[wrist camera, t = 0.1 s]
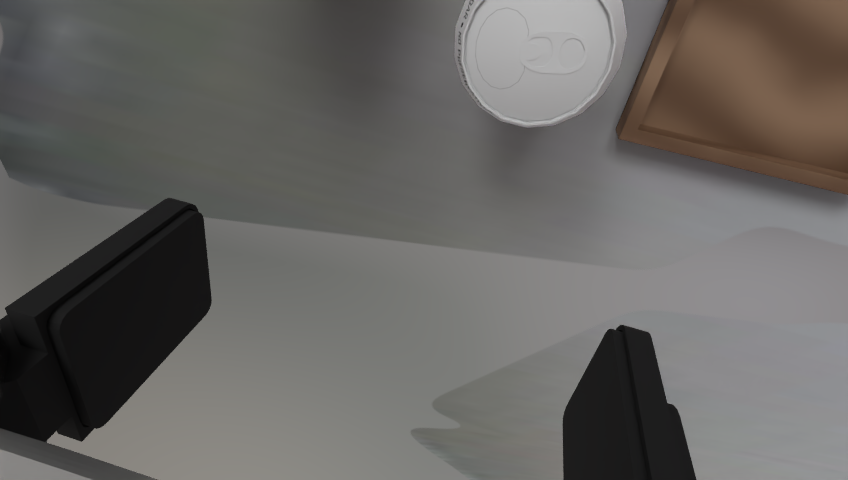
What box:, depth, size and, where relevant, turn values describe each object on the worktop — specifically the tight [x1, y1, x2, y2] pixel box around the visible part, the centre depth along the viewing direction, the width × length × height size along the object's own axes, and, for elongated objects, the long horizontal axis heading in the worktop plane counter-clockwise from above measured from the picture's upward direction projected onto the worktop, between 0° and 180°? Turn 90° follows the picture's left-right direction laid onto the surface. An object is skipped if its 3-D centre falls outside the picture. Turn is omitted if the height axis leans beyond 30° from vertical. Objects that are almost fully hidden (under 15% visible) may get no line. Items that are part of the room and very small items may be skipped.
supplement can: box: [454, 0, 627, 128], centre depth 29 cm, size 8×8×15 cm
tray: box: [616, 0, 848, 195], centre depth 31 cm, size 18×18×2 cm
